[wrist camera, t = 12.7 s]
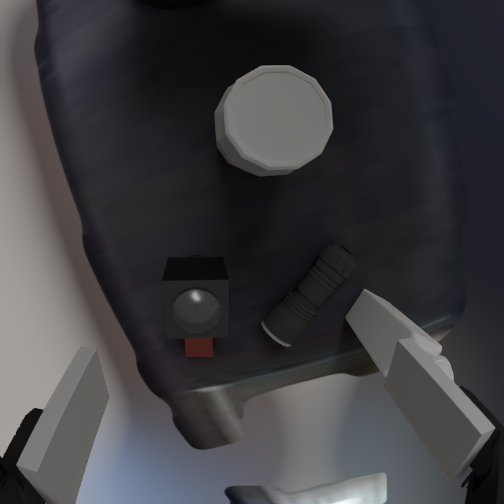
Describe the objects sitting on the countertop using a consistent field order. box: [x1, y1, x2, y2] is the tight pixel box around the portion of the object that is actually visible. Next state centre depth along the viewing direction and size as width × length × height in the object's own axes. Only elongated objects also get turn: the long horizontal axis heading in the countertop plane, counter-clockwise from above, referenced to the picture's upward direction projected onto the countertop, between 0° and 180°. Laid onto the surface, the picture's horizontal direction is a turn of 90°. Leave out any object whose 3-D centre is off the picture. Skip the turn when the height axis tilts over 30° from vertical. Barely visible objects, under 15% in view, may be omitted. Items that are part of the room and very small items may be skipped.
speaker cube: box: [162, 257, 229, 339], centre depth 37 cm, size 7×7×8 cm
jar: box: [215, 65, 333, 176], centre depth 30 cm, size 10×10×18 cm
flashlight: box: [261, 241, 358, 347], centre depth 43 cm, size 15×5×5 cm, turn 142°
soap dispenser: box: [345, 289, 454, 381], centre depth 37 cm, size 6×6×22 cm
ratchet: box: [185, 255, 213, 357], centre depth 41 cm, size 15×6×6 cm, turn 178°
